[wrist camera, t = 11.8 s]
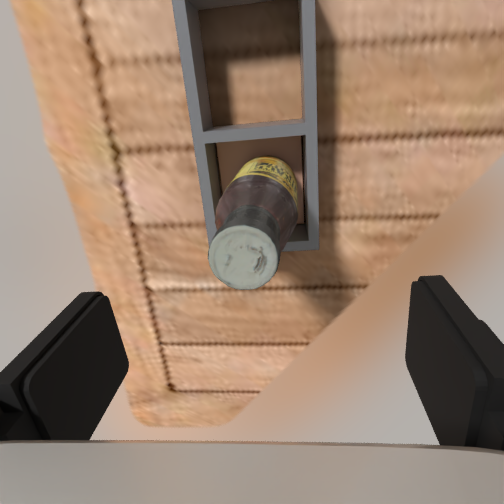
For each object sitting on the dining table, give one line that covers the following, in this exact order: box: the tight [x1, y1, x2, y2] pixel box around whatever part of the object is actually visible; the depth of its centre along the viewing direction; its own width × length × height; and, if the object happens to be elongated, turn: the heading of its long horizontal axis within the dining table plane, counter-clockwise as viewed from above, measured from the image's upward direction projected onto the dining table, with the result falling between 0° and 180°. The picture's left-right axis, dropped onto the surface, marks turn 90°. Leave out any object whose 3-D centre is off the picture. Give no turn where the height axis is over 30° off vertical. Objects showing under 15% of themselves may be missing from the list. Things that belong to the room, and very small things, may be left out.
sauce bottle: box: [208, 155, 298, 290], centre depth 29 cm, size 6×6×20 cm
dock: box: [172, 0, 319, 252], centre depth 34 cm, size 11×23×5 cm, turn 5°
